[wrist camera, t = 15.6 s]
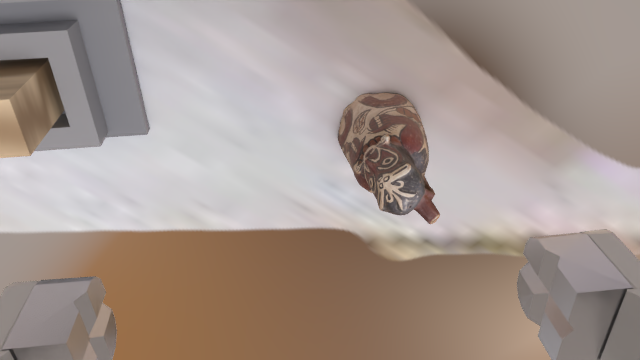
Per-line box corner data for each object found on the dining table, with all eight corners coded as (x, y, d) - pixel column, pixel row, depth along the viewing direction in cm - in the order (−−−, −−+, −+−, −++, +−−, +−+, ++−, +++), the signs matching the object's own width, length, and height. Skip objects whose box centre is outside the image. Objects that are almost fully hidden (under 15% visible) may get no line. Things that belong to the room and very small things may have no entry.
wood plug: (-4, 59, 39) (-59, 103, 32) (52, 55, 39) (9, 99, 32) (15, 109, 41) (-33, 160, 34) (67, 105, 41) (30, 155, 34)
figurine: (382, 73, 43) (419, 141, 33) (434, 125, 46) (483, 202, 36) (321, 131, 46) (339, 211, 36) (375, 176, 49) (405, 262, 39)
